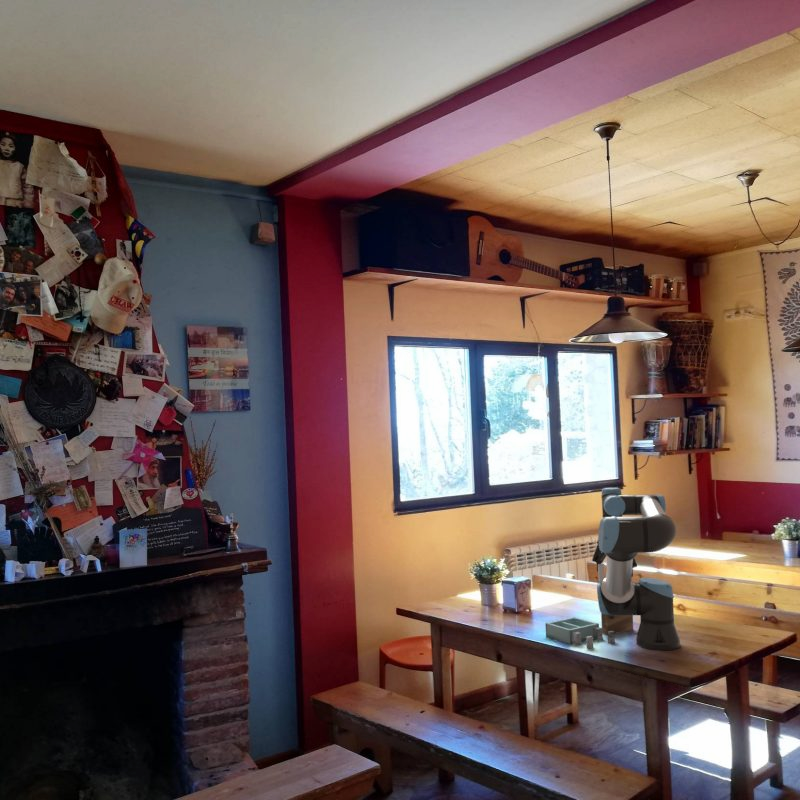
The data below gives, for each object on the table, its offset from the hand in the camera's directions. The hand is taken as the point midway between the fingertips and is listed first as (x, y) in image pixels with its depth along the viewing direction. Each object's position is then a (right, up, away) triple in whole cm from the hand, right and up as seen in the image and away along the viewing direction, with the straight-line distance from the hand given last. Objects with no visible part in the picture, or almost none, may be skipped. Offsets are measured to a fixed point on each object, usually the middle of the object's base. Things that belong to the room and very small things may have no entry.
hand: (614, 583), depth 306 cm
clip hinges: (-12, -18, -16) cm, 27 cm away
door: (+1, -19, 0) cm, 19 cm away
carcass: (-18, -19, -6) cm, 27 cm away
